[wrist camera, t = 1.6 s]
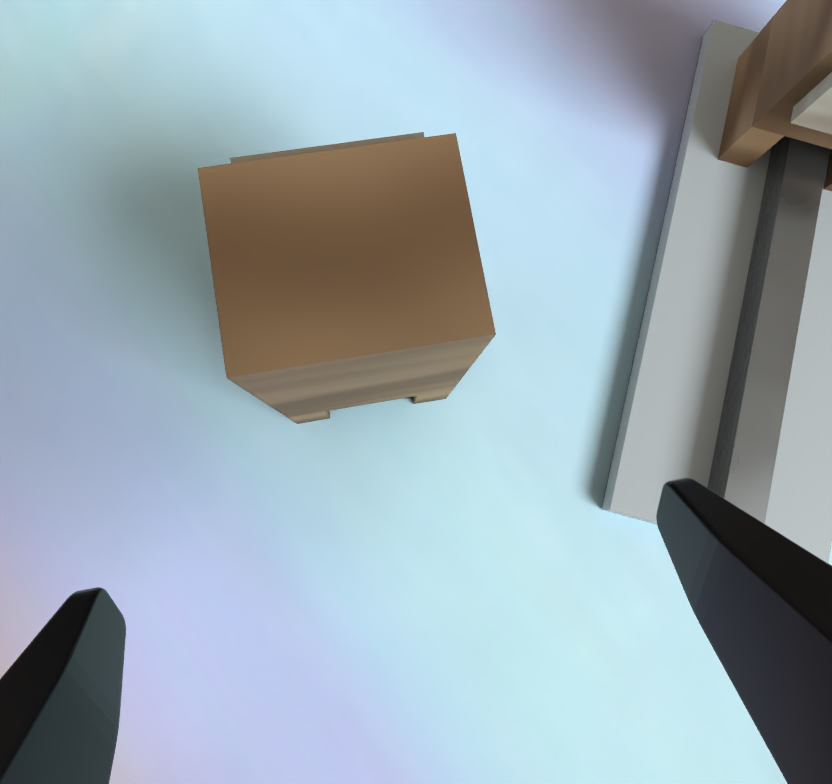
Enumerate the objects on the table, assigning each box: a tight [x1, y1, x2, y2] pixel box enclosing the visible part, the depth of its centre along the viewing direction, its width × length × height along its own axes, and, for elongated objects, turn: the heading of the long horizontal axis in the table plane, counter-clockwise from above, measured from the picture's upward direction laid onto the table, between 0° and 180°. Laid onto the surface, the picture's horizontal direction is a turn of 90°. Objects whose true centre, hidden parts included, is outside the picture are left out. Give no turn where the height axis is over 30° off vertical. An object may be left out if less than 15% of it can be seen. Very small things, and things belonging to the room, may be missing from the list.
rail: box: [707, 136, 829, 524], centre depth 22 cm, size 19×2×1 cm, turn 165°
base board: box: [602, 20, 832, 563], centre depth 23 cm, size 20×8×1 cm, turn 165°
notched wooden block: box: [198, 132, 496, 424], centre depth 18 cm, size 5×6×10 cm
